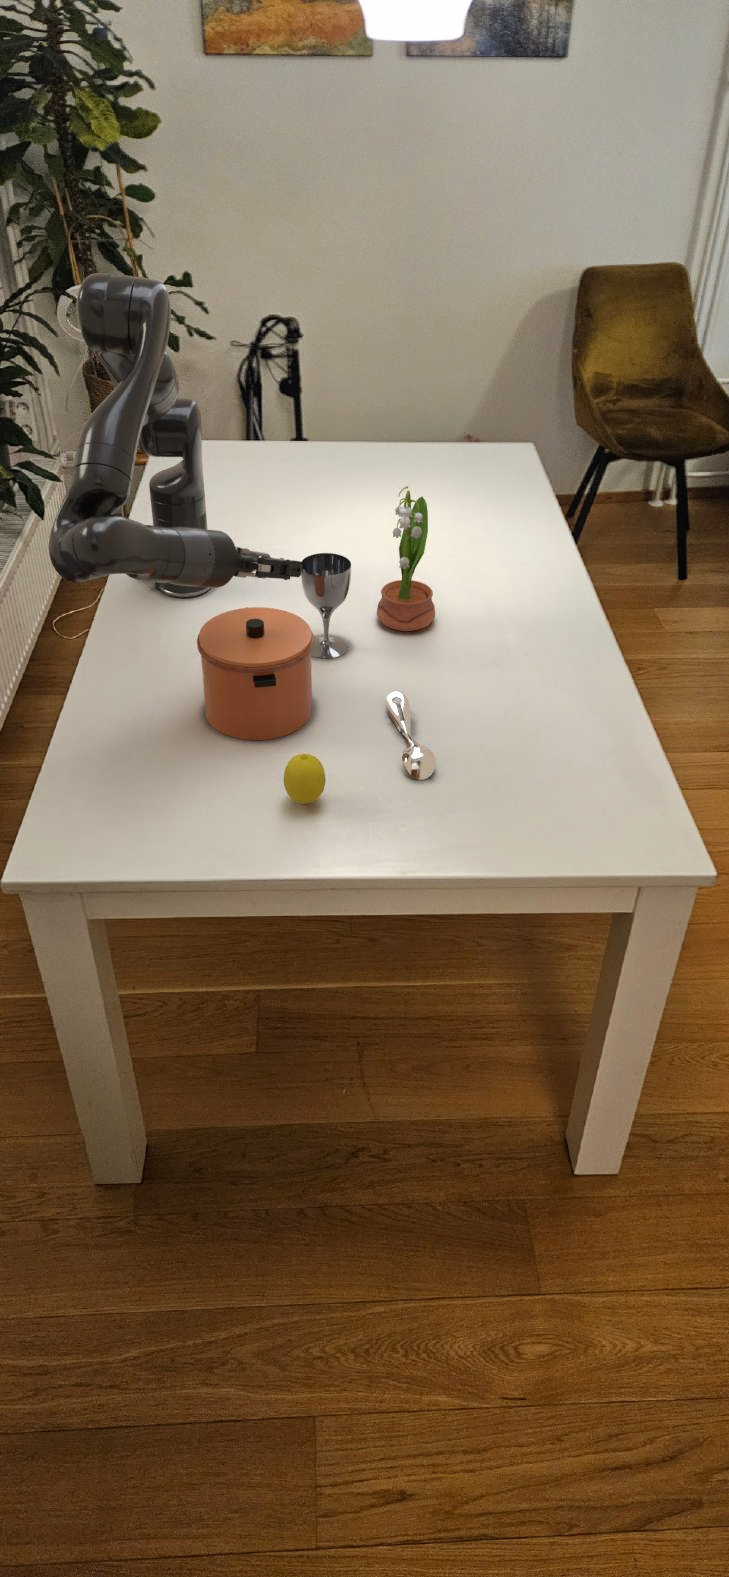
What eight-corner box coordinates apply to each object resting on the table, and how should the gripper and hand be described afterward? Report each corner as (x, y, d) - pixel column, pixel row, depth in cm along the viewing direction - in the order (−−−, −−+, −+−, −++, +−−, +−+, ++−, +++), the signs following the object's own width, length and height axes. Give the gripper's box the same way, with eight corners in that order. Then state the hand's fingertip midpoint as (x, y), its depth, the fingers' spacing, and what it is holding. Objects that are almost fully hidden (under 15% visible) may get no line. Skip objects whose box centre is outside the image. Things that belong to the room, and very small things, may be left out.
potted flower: (428, 644, 182) (437, 501, 167) (369, 637, 184) (372, 495, 169) (438, 611, 192) (448, 472, 176) (382, 604, 193) (386, 466, 178)
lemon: (283, 791, 150) (282, 743, 145) (324, 789, 150) (324, 742, 146) (285, 816, 146) (283, 768, 141) (326, 814, 146) (326, 766, 141)
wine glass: (356, 640, 183) (358, 557, 174) (340, 663, 177) (341, 579, 168) (312, 632, 185) (311, 549, 176) (294, 654, 179) (292, 570, 170)
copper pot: (209, 752, 157) (202, 662, 148) (197, 682, 172) (189, 597, 163) (325, 739, 160) (324, 650, 151) (303, 672, 175) (301, 587, 166)
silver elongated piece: (380, 682, 165) (411, 679, 166) (379, 701, 168) (409, 698, 168) (406, 766, 151) (440, 763, 151) (405, 786, 153) (438, 783, 154)
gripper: (234, 536, 139) (318, 545, 152) (160, 521, 147) (246, 531, 160) (227, 595, 141) (311, 599, 153) (154, 577, 149) (240, 582, 162)
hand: (278, 564), depth 157 cm, fingers open, 8 cm apart
